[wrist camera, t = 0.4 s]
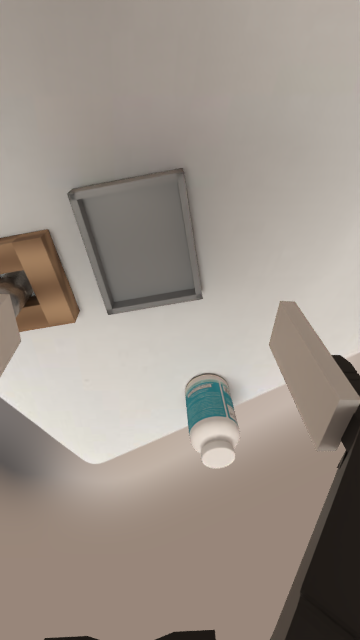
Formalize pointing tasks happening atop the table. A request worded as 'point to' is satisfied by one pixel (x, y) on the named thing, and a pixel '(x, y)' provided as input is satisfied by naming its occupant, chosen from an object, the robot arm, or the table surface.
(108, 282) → the tray
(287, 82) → the table surface
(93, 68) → the table surface
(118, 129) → the table surface
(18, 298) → the pin
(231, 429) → the pill bottle
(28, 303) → the socket block
